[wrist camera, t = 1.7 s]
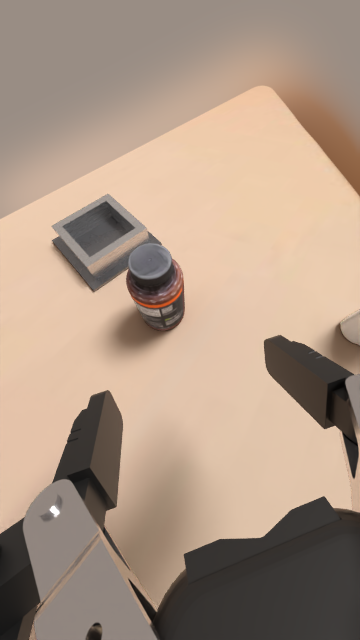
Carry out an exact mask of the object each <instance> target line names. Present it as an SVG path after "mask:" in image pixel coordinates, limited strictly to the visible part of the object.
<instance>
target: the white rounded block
mask: <svg viewBox="0 0 360 640" xmlns="http://www.w3.org/2000/svg"><path fill="white" fill-rule="evenodd" d="M340 324H341V327H340V328H341V331H342V333H343V335H344V336H345V337H346V338H347V339H348V340H349V341H351V342H352V343H355V344H358V345H359V346H360V309H359V310H358V311H356V312H354V313H352V314H351V315H349V316H348V317H346V318H345V319H344V320H343V321H342V322H341V323H340Z"/></svg>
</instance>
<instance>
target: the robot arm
mask: <svg viewBox="0 0 360 640" xmlns="http://www.w3.org/2000/svg"><path fill="white" fill-rule="evenodd" d="M264 351H265V363H266V368H267V370H268V372H269V374H270V375H271V376H272V377H273V378H274V379H275V380H276V381H277V382H278V383H279V384H280V385H281V386H282V387H283V388H284V389H285V390H286V391H287V392H288V393H289V394H290V395H291V396H292V397H293V398H294V399H295V400H296V401H297V402H298V403H299V404H300V405H301V406H302V407H303V408H304V409H305V410H306V411H307V412H308V413H309V414H310V415H311V416H312V417H313V418H314V419H315V420H316V421H317V422H318V423H319V424H320V425H321V426H322V427H323V428H324V429H327V428H329V427H332V426H336V427H337V428H338V429H340V439H341V444H342V448H343V453H344V457H345V462H346V467H347V471H348V476H349V480H350V486H351V499H352V510H353V511H352V510H348V509H339V508H333V507H332V506H331V505H330V503H329V502H328V501H327V499H326V498H325V497H321V498H319V499H316V500H314V501H311V502H309V503H307V504H304V505H302V506H299V507H297V508H295V509H292V510H291V511H290V512H289V513H288V514H287V515H286V516H285V517H284V518H282V519H281V520H280V521H279V522H278V523H277V524H276V525H275V526H274V527H273V528H272V529H271V530H270V531H269V532H268V533H267V534H266V535H265V536H264V537H261V538H248V539H219V540H217V541H214V542H212V543H210V544H207V545H205V546H202V547H200V548H198V549H195V550H193V551H190V552H188V553H185V554H184V558H185V565H186V569H185V570H184V571H183V572H182V573H181V574H180V575H179V576H178V577H177V578H176V580H175V581H174V582H173V583H172V585H171V586H170V588H169V590H168V591H167V593H166V594H165V596H164V598H163V600H162V602H161V604H160V606H159V608H158V610H157V608H156V607H155V605H154V603H153V602H152V600H151V598H150V597H149V595H148V594H147V592H146V591H145V589H144V588H143V586H142V585H141V583H140V582H139V580H138V579H137V577H136V576H135V574H134V573H133V571H132V569H131V568H130V566H129V564H128V563H127V561H126V559H125V558H124V556H123V554H122V553H121V551H120V550H119V548H118V546H117V545H116V543H115V541H114V540H113V538H112V536H111V535H110V533H109V531H108V530H107V528H106V526H105V525H104V521H105V513H106V511H107V510H110V509H112V508H115V507H116V506H117V494H118V481H119V469H120V457H121V444H122V432H123V420H122V416H121V413H120V411H119V409H118V407H117V405H116V403H115V401H114V399H113V397H112V394H111V393H110V391H109V390H107V391H104V392H101V393H98V394H95V395H92V396H91V398H90V401H89V404H88V407H87V409H84V410H82V411H81V413H80V414H79V415H78V417H77V418H76V419H75V421H74V423H73V426H72V429H71V434H70V435H69V437H68V440H67V444H66V446H65V449H64V451H63V454H62V457H61V460H60V463H59V466H58V468H57V471H56V474H55V477H54V480H53V482H52V484H51V485H49V486H48V487H46V488H45V489H44V490H43V491H42V492H41V493H40V494H39V495H38V496H37V497H36V498H35V500H34V501H33V503H32V504H31V506H30V507H29V509H28V511H27V513H26V516H25V517H24V518H23V519H21V520H20V521H18V522H17V523H16V524H14V525H13V526H11V527H10V528H8V529H7V530H5V531H4V532H2V533H1V534H0V640H29V637H30V633H31V628H32V624H33V620H34V627H35V634H36V639H37V640H360V374H357V375H354V374H352V373H351V372H349V371H348V370H346V369H344V368H343V367H341V366H339V365H338V364H336V363H334V362H333V361H331V360H329V359H328V358H326V357H323V356H322V355H321V354H320V353H318V352H315V351H314V350H313V349H311V348H310V347H308V346H306V345H305V344H301V343H298V342H295V341H292V342H291V341H289V340H288V339H286V338H284V337H283V336H281V335H278V336H275V337H272V338H269V339H266V340H265V341H264ZM40 602H41V605H40V607H39V608H38V609H37V611H36V608H37V605H38V604H39V603H40Z"/></svg>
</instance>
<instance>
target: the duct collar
mask: <svg viewBox="0 0 360 640" xmlns="http://www.w3.org/2000/svg"><path fill="white" fill-rule="evenodd" d="M52 228H53V229H54V230H55V232H56V233H57V234H58V235H59V237H57V238H55V239H53V240H52V241H53V242H54V244H55V245H56V246H57V247H58V248H59V250H60V251H61V252H62V253H63V254H64V256H65V257H66V258H67V259H68V260H69V262H70V263H71V264H72V265H73V266H74V268H75V269H76V270H77V271H78V272H79V274H80V275H81V276H82V277H83V278H84V280H85V281H86V282H87V283H88V285H89V286H90V287H91V288H92V289H93V291H94V292H95V291H96V290H98V289H99V288H101V287H102V286H103V285H105V284H106V283H108V282H109V281H111V280H112V279H114V278H115V277H116V276H118V275H119V274H121V273H122V272H124V271H125V270H127V269H128V268H129V266H128V260H129V256H130V254H131V253H132V252H133V251H134V250H135V249H136V248H137V247H139V246H141V245H144V244H149V243H152V244H153V243H154V244H159V245H162V244H161V242H159V241H158V240H157V239H156V238H155V237H154V236H153V235H152V234H151V233H149V232H148V231H147V228H146V227H145V226H144V225H143V224H142V223H140V222H139V221H138V220H137V219H136V218H135V217H134V216H133V215H131V214H130V213H129V212H128V211H127V210H126V209H125V208H124V207H123V206H121V205H120V204H119V203H118V202H117V201H116V200H115V199H114V198H112V197H111V196H110V195H109V194H107V195H105V196H103V197H101V198H100V199H98V200H96V201H94V202H93V203H91V204H89V205H87V206H86V207H84V208H82V209H80V210H79V211H77V212H75V213H73V214H72V215H70V216H68V217H66V218H65V219H63V220H61V221H59V222H58V223H56V224H54V225H52Z"/></svg>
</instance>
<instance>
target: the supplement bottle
mask: <svg viewBox="0 0 360 640" xmlns="http://www.w3.org/2000/svg"><path fill="white" fill-rule="evenodd" d="M128 266H129V270H128V273H127V277H126V284H127V288H128V290H129V293H130V294H131V297H132V298H133V300H134V302H135V304H136V306H137V308H138V309H139V311H140V313H141V315H142V317H143V319H144V320H145V322H146V323H147V324H148V325H149V326H150V327H152V328H154V329H157V330H169V329H172V328H174V327H175V326H177V325H178V324H179V323H180V322H181V320H182V318H183V316H184V310H185V304H184V281H183V273H182V270H181V268H180V266H179V265H178V263H177V262H176V261H175V260H173V259H172V257H171V254H170V252H169V251H168V250H167V249H166V248H165V247H163V246H161V245H159V244H154V243H153V244H152V243H149V244H144V245H141V246H139V247H137V248H136V249H135V250H134V251H133V252H132V253H131V254H130V256H129V260H128Z"/></svg>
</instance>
